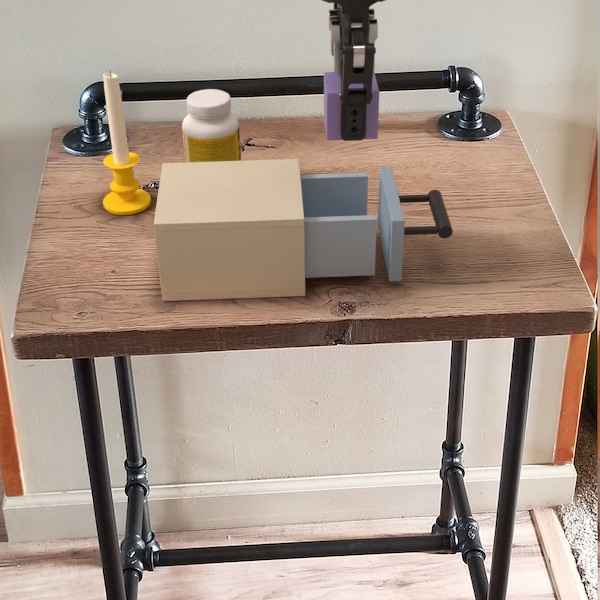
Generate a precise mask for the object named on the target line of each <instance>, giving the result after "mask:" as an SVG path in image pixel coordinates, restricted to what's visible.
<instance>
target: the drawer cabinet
mask: <svg viewBox="0 0 600 600" xmlns="http://www.w3.org/2000/svg"><path fill="white" fill-rule="evenodd" d="M300 167H301V166H300V159H299V158H285V159H284V158H280V159H254V160H253V159H252V160H248V159H247V160H241V161H218V162H188V163H185V162H164V163H163V162H162V165H161V171H160V178H159V185H158V191H157V199H156V205H155V213H154V219H153V230H154V239H155V248H156V257H157V265H158V273H159V281H160V290H161V300H162V302H175V301H177V302H178V301H180V302H181V301H203V300H230V299H231V300H232V299H234V300H235V299H255V298H256V299H259V298H287V297H306V278H305V231H304V210H303V199H302V188H301V176H300V175H301V168H300Z"/></svg>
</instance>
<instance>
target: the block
mask: <svg viewBox="0 0 600 600" xmlns="http://www.w3.org/2000/svg"><path fill="white" fill-rule="evenodd" d="M349 88H362V84H350V85H349ZM339 93H340V76H339V75H337V74H336V73H335V71H324V72H323V122H324V131H325V138H326V141H344V140H343V139H342V138H341V133H340V131H341V102H340V99H339ZM379 113H380V89H379V85H378V81H377V77H376V73H375V71H374V72H373V80H372V100H371V104H367V107H366V136H365V138H364V139H363V140H378V138H379V115H380V114H379Z"/></svg>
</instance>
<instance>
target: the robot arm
mask: <svg viewBox="0 0 600 600" xmlns="http://www.w3.org/2000/svg"><path fill="white" fill-rule="evenodd" d="M321 1H322V2H325V3H327V4H333V9H328V17H327V18H328V30H329V32H330V42H329V43H330V54H331V56H332V57H333V72H335V73H336V74H337V75H339V76H340V93H339V99H340V102H341V131H340V133H341V138H342V139H343V140H342V141H345V142H350V141H357V142H358V141H363V140H365V139H364V138H365V136H366V107H367V104H371V100H372V80H373V72H375V71H376V70H375V69H376V59H375V58H376V54H377V49H376V47H375V46H376V43H375V42H376V41H377V39H378V36H379V35H378V32H379V31H378V29H379V28H378V27H379V26H378V19H377V18H375V15H376V14H375V8H371V6H373V5H375V4H376V3H379V2H380V3H382V2H386V0H321ZM350 84H362V88H349V85H350Z"/></svg>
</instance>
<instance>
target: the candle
mask: <svg viewBox="0 0 600 600" xmlns="http://www.w3.org/2000/svg"><path fill="white" fill-rule="evenodd" d="M108 71H109V72H106V73H103V74H102V76H103V88H104V96H105V104H106V112H107V119H108V128H109V135H110V142H111V150H112V153H111V154H108V155H106V156H105V157H104V159H103V161H102V163H103V165H104V167H106V168H109V169H111V170H112V177H113V180H112V181H111V182H110V184H109V188H110V192H109V193H107V194H106V195H105V197H104V198H103V200H102V205H103V209H104V210H105V211H106V212H108V213H110V214H113V215H116V216H131V215H135V214H138V213H142V212H144V211H145V210H147V209H148V208H149V207H150V205H151V202H152V197H151V194H150V193H149V192H148V191H146V190H144V189H142V188H140V187H141V183H140V180H139V179H137V178H135V172H134V169H133V167H135V166H136V165H138V164H139V163H140V161H141V158H140V155H138V154H137V153H136V152H132V151H130V150H129V144H128V136H127V129H126V121H125V114H124V107H123V100H122V93H121V85H120V82H119V76H118V75H117V74H116V73H112V72H111V70H110V69H109V70H108Z"/></svg>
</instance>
